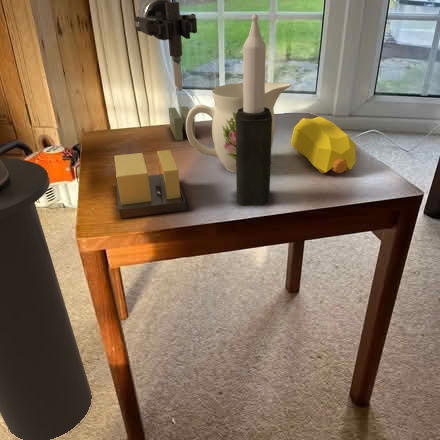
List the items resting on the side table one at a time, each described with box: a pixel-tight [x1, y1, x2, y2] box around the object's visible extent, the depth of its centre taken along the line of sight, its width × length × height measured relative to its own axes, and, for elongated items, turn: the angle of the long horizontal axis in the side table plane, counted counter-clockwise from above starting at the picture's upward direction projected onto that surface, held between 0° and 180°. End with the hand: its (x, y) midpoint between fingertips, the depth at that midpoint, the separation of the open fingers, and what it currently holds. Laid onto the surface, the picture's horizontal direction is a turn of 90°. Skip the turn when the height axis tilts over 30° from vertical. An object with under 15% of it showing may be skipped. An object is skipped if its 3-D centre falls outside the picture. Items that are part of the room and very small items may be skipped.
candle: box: [235, 14, 272, 206], centre depth 64 cm, size 5×5×25 cm
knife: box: [165, 1, 184, 92], centre depth 90 cm, size 6×3×15 cm, turn 13°
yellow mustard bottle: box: [290, 116, 356, 174], centre depth 82 cm, size 18×7×8 cm
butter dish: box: [114, 149, 187, 220], centre depth 71 cm, size 12×10×6 cm
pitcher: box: [186, 82, 292, 174], centre depth 79 cm, size 11×18×14 cm, turn 93°
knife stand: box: [168, 106, 196, 141], centre depth 99 cm, size 9×4×4 cm, turn 13°
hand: (178, 31), depth 83 cm, fingers closed on knife, 3 cm apart
